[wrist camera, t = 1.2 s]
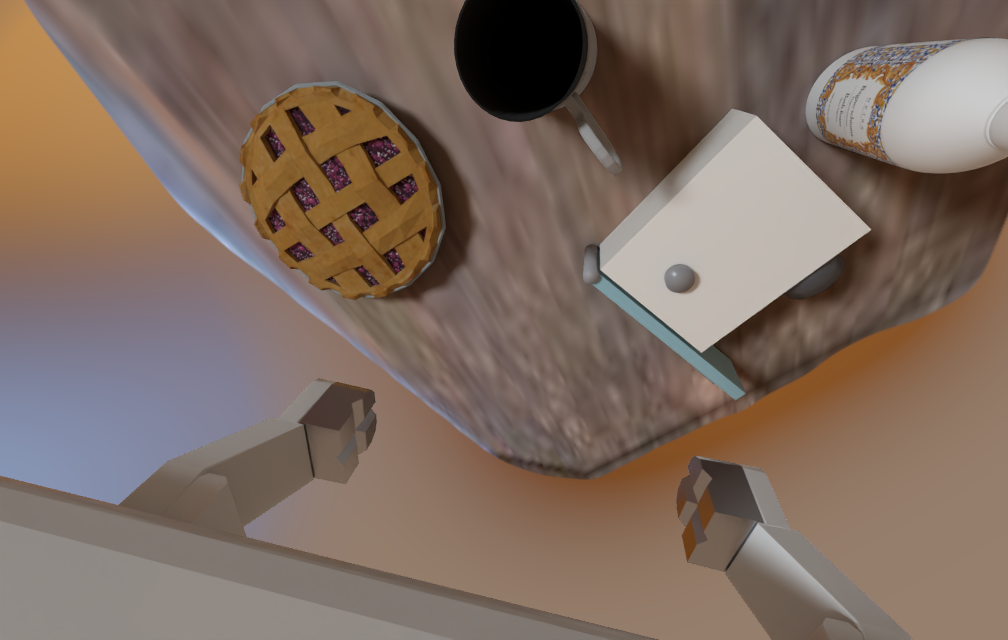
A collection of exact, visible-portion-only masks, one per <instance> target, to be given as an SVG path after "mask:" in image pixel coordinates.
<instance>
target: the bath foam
mask: <svg viewBox="0 0 1008 640" xmlns="http://www.w3.org/2000/svg"><path fill="white" fill-rule="evenodd" d="M806 120H807V124H808V126H809V128H810V130H811V131H812V133H813V134H814V135H815V136H816V137H817V138H819V139H820V140H822V141H824V142H826V143H829V144H832V145H835V146H837V147H840V148H843V149H846V150H849V151H852V152H855V153H859V154H862V155H865V156H868V157H871V158H874V159H877V160H880V161H883V162H886V163H889V164H892V165H895V166H898V167H901V168H904V169H907V170H910V171H916V172H923V173H956V172H963V171H969V170H973V169H977V168H980V167H984V166H987V165H990V164H992V163H995V162H997V161H1000V160H1002V159H1004V158H1006V157H1008V39H1001V38H990V37H987V38H972V39H959V40H946V41H933V42H920V43H907V44H893V45H883V46H872V47H865V48H861V49H858V50H855V51H852V52H850V53H848V54H846V55H844V56H842V57H841V58H839V59H838V60H836V61H835V62H833V63H832V64H831V65H830V66H829V67H828V68H827V69H826V70H825V71H824V72H823V73H822V74H821V75H820V76H819V78H818V79H817V80H816V82H815V83H814V85H813V87H812V89H811V91H810V93H809V96H808V99H807V103H806Z"/></svg>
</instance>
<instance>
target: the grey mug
mask: <svg viewBox="0 0 1008 640" xmlns="http://www.w3.org/2000/svg"><path fill="white" fill-rule="evenodd" d="M454 54H455V60H456V66H457V70H458V73H459V76H460V79H461V81H462V83H463V85H464V87H465V89H466V91H467V92H468V94H469V95H470V96H471V98H472V99H473V100H474V101H475V102H476V103H477V104H478V105H479V106H480V107H481V108H482V109H483V110H485V111H486V112H488V113H489V114H491V115H493V116H495V117H497V118H499V119H503V120H507V121H514V122H523V121H530V120H533V119H536V118H539V117H542V116H544V115H545V114H547V113H550V112H552V111H554V110H557V109H560V108H563V107H564V106H565V107H566V108H567V109H568V111H569V112H570V113H571V115H572V116H573V117H574V119H575V121H576V122H577V123H576V124H577V128H578V130H579V132H580V134H581V136H582V137H583V139H584V140H585V142H586V143H587V145H588V146H589V148H590V149H591V150H592V152H593V153H594V154H595V156H596V157H597V158H598V159H599V161H600V162H601V163H602V164H603V165H604V167H605V168H606V169H607V170H608V171H609V172H610V173H611V174H613V175H614V176H616V175H617V174H619V173H620V172H621V171H622V170H623V165H622V162H621V160H620V158H619V156H618V154H617V153H616V151H615V149H614V148H613V146H612V144H611V143H610V141H609V140H608V138H607V137H606V135H605V133H604V132H603V131H602V129H601V128H600V126H599V125H598V123H597V122H596V120H595V119H594V117H593V116H592V114H591V113H590V111H589V110H588V108H587V107H586V105H585V104H584V103H583V101H582V100H581V98H580V97H579V95H580V94H581V93H582V92H583V91H584V89H585V87H586V86H587V84H588V83H589V81H590V79H591V76H592V74H593V72H594V68H595V64H596V58H597V39H596V33H595V29H594V27H593V24H592V21H591V19H590V18H589V16H588V14H587V12H586V11H585V10H584V9H583V8H582V6H581V5H580V4H579V3H578V2H577V0H466V1H465V2H464V5H463V7H462V9H461V11H460V14H459V17H458V21H457V25H456V30H455V38H454Z"/></svg>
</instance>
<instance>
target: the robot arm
mask: <svg viewBox="0 0 1008 640" xmlns="http://www.w3.org/2000/svg"><path fill="white" fill-rule="evenodd" d="M374 403H375V395H374V392H373V391H372V390H369V389H365V388H360V387H356V386H352V385H347V384H343V383H339V382H332V381H328V380H324V379H320V378H319V379H316V380H314V381H312V382H311V383H310V385H309V386H308V387H307V388H306V389H305V390H304V391H303V392H302V393H301V394H300V395H299V396H298V397H297V399H296V400H295V401H294V402H293V403H292V404H291V405H290V406H289V407H288V408H287V409H286V410H285V411H284V412H283V414H282V415H281V416H280V417H279V418H278V419H277V418H270V419H268V420H265V421H263V422H261V423H258V424H256V425H253V426H251V427H248V428H246V429H244V430H241V431H239V432H237V433H234V434H232V435H229V436H227V437H224V438H222V439H220V440H217V441H215V442H212V443H210V444H208V445H205V446H203V447H200V448H198V449H196V450H193V451H191V452H189V453H186V454H184V455H182V456H179V457H177V458H174V459H172V460H169V461H167V462H166V463H165V464H164V465H163V466H162V467H160V468H159V469H158V470H157V471H156V472H155V473H154V474H153V475H151V477H149V478H148V479H147V480H146V481H145V482H144V483H143V484H141V485H140V486H139V487H138V488H137V489H136V490H135V491H134V492H132V493H131V494H130V495H129V496H128V497H127V498H126V499H125V500H123V501H122V502H121V503H120V504H119V505H115V504H111V503H107V502H103V501H99V500H95V499H91V498H87V497H83V496H79V495H75V494H71V493H67V492H62V491H59V490H55V489H51V488H46V487H43V486H39V485H35V484H31V483H27V482H23V481H18V480H14V479H11V478H7V477H3V476H0V640H658V639H654V638H650V637H645V636H642V635H638V634H634V633H629V632H626V631H622V630H618V629H613V628H609V627H605V626H601V625H597V624H593V623H589V622H585V621H581V620H577V619H573V618H569V617H565V616H561V615H557V614H552V613H549V612H545V611H541V610H537V609H533V608H529V607H525V606H521V605H517V604H512V603H509V602H505V601H500V600H497V599H493V598H488V597H485V596H480V595H476V594H472V593H468V592H464V591H460V590H456V589H452V588H448V587H444V586H440V585H436V584H432V583H428V582H424V581H420V580H416V579H412V578H408V577H404V576H400V575H396V574H392V573H388V572H384V571H380V570H376V569H372V568H368V567H364V566H360V565H356V564H352V563H348V562H344V561H339V560H336V559H332V558H328V557H324V556H319V555H316V554H312V553H308V552H304V551H300V550H295V549H292V548H288V547H283V546H280V545H276V544H272V543H268V542H264V541H259V540H255V539H252V538H247V537H246V534H245V531H244V528H243V527H244V526H245V525H247V524H248V523H250V522H251V521H253V520H254V519H256V518H257V517H259V516H260V515H262V514H263V513H265V512H266V511H268V510H269V509H270V508H272V507H273V506H275V505H276V504H278V503H279V502H281V501H282V500H284V499H285V498H287V497H288V496H290V495H291V494H293V493H294V492H296V491H297V490H299V489H300V488H301V487H303V486H305V485H306V484H308V483H309V482H311V481H312V480H313V478H318V479H323V480H328V481H333V482H338V483H343V484H346V483H347V481H348V480H349V478H350V477H351V475H352V473H353V472H354V470H355V468H356V467H357V465H358V455H359V454H360V453H362V452H364V451H366V450H367V449H368V447H369V445H370V443H371V442H372V439H373V436H374V433H375V431H376V423H377V420H376V414H375V413H374V411H373V410H372V409H371V408H372V406H373V405H374ZM688 470H689V474H690V475H689V476H687V477H685V478H683V479H682V480H681V482H680V485H679V487H678V492H677V499H676V504H677V513H678V518H679V520H680V521H681V522H682V523H683V524H684V525H685V527H686V528H685V530H684V532H683V534H682V539H683V544H684V549H685V553H686V559H687V562H688V563H692V564H696V565H700V566H704V567H708V568H712V569H716V570H720V571H723V572H726V573H725V574H726V576H727V577H728V579H729V580H730V582H731V583H732V584H733V586H734V587H735V588H736V590H737V591H738V593H739V594H740V596H741V597H742V599H743V600H744V601H745V603H746V604H747V606H748V607H749V608H750V610H751V611H752V613H753V614H754V615H755V617H756V618H757V620H758V621H759V622H760V624H761V625H762V627H763V628H764V629H765V631H766V632H767V634H768V635H769V637H770V638H771V639H772V640H912V638H911V636H910V635H909V634H908V633H907V632H906V631H905V630H904V629H903V628H901V627H900V626H899V625H898V624H897V623H896V622H895V621H894V620H893V619H892V618H891V617H890V616H889V615H888V614H886V613H885V612H884V611H883V610H882V609H881V608H880V607H879V606H878V605H877V604H876V603H875V602H874V601H872V600H871V599H870V598H869V597H868V596H867V595H866V594H865V593H864V592H863V591H862V590H861V589H859V588H858V587H857V586H856V585H855V584H854V583H853V582H852V581H851V580H850V579H849V578H848V577H847V576H846V575H844V574H843V573H842V572H841V571H840V570H839V569H838V568H837V567H836V566H835V565H834V564H833V563H831V562H830V561H829V560H828V559H827V558H826V557H825V556H824V555H823V554H822V553H821V552H820V551H819V550H818V549H817V548H815V547H814V546H813V545H812V544H811V543H810V542H809V541H808V540H807V539H806V538H805V537H804V536H803V535H801V534H800V533H799V532H798V531H795V530H791V529H790V527H789V524H788V522H787V520H786V518H785V515H784V513H783V511H782V509H781V506H780V505H779V502H778V500H777V498H776V495H775V493H774V491H773V489H772V486H771V484H770V482H769V480H768V478H767V475H766V473H765V472H764V471H763V470H762V469H761V468H757V467H752V466H747V465H742V464H735V463H730V462H725V461H720V460H715V459H710V458H705V457H699V456H694V457H693V458H692V459H691V461H690V463H689V465H688Z"/></svg>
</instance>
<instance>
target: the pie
mask: <svg viewBox="0 0 1008 640" xmlns="http://www.w3.org/2000/svg"><path fill="white" fill-rule="evenodd" d="M250 124H251V129H250V131H249V133H248V135H247V136H246V138H245V140H244V145H243V146H242V147H241V156H240V162H241V163H242V183H241V184H240V185H239V187H240V190H241V193H242V196H243V199H244V201H246V202H247V203H249V204H250V206H251V209H252V212H253V215H254V218H255V220H256V221H255V224H254V225H255V227H256V228H257V230H258V232H259V233H260V235H261V237H262V238H265V239H268V240H270V241H271V243H272V244H273V245H274V247H275V248H276V250H277V251H278V252H279V258H280V259H281V260H282V261H283V262H284V263H285V264H286V265H287V266H288V267H289V268H291V269H297V270H298V271H300V272H301V273H302V274H303V275H304V276H305V277H307V278H308V279H309V283H310V284H312V285H314V286H315V287H317V288H319V289H320V290H327V289H329V290H331V291H333V292H335V293H338V294H340V295H342V296H343V297H344V298H348V299H352V300H356V299H358V298H360V297H369V298H380V297H383V296H387V295H388V294H390V293H393V292H395V291H398V290H400V289H403V288H406V287H408V286H410V285H411V284H412V283H413V282H414V281H415V280H416V279H417V278H418V277H419V276H420V275H421V274H422V273H423V272H424V271H425V270H426V269H427V268H428V267H429V266H430V265H431V264H432V263H433V262H434V260H435V257H436V255H437V252H438V249H439V246H440V243H441V240H442V238H443V235H444V232H445V229H446V222H445V215H444V207H443V199H442V191H441V184H440V182H439V180H438V178H437V176H436V174H435V172H434V170H433V169H432V167H431V165H430V163H429V161H428V159H427V157H426V155H425V153H424V151H423V149H422V147H421V145H420V143H419V141H418V139H417V138H416V137H415V136H414V135H413V134H412V133H411V132H410V131H409V130H408V129H407V128H406V127H405V126H404V125H403V124H402V123H401V122H400V121H399V120H398V119H397V118H396V117H395V115H394V114H393V113H392V112H391V111H390V110H389V109H388V108H387V107H386V106H385V105H384V104H383V103H382V102H380V101H378V100H376V99H374V98H372V97H370V96H368V95H366V94H364V93H362V92H360V91H358V90H356V89H353V88H351V87H349V86H347V85H345V84H343V83H341V82H339V81H331V82H316V83H302V84H295V85H294V86H292V87H291V88H289V89H288V90H286V91H285V92H283V93H282V94H280V95H279V96H277V97H276V98H274V99H273V100H271V101H270V102H269V103H267V104H266V105H264V106H263V107H262V109H261V111H260V113H259V114H258V115H257V116H256V117H255V118H254V119H253V121H252V122H251V123H250Z"/></svg>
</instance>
